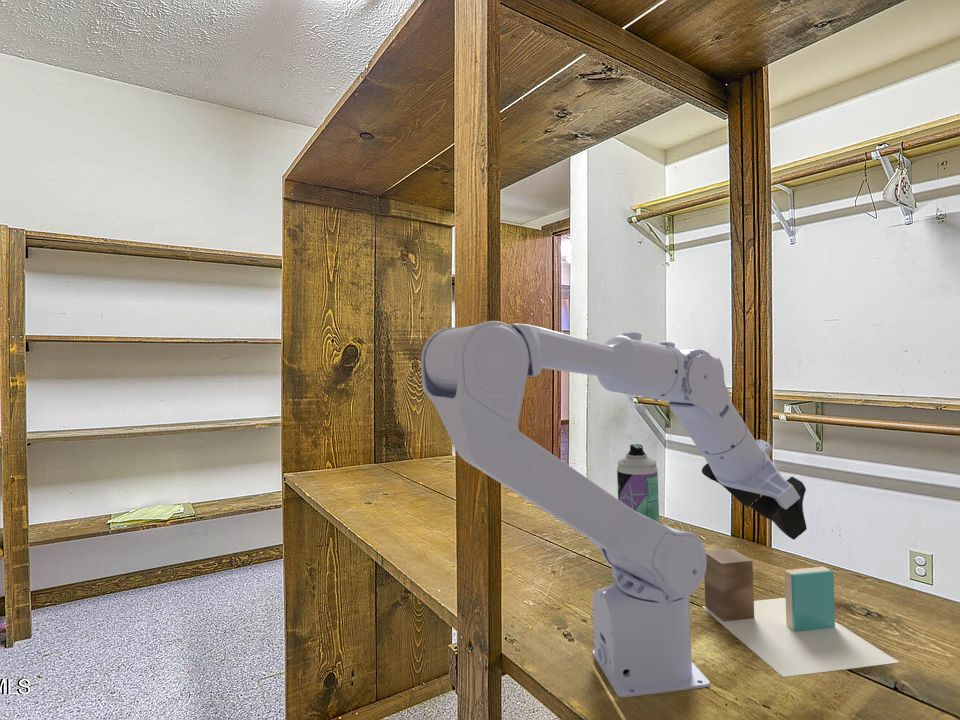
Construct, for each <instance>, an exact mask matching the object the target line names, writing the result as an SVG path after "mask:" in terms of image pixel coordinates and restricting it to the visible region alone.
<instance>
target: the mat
mask: <svg viewBox="0 0 960 720" xmlns="http://www.w3.org/2000/svg"><path fill="white" fill-rule="evenodd" d="M701 608H702V609H703V610H705V611H706V612H707V613H708V614H709V615H710V616H712V618H714V619H715V620H717V622H719V623H720V624H721V626H723V627H724V628H725V629H727V630H728V631H729V632H730V633H731V634H732V635H734V636H735V637H736V638H737V639H738V640H739V641H740V642H741V643H743V644H744V645H745V646H747V647H748V649H750V650H751V652H753V653H754V654H755V655H757V656H758V658H760V659H761V660H762V661H763V662H765V664H767V665H768V666H769V667H770V668H772V670H774V671H775V672H776V673H777V674H779V676H781V677H782V678H789V677H796V676H803V675H813V674H821V673H828V672H829V673H830V672H836V671H843V670H851V669H859V668H860V669H861V668H867V667H868V668H869V667H875V666H876V667H877V666H883V665H892V664H899V663H900V661H899V660H897V659H895V658H894V657H892V656H891V655H889V654H888V653H886V652H884V651H883V650H881V649H879V648H878V647H877V646H875V645H873V644H871V643H870V642H868V641H866V639H864V638H862V637H860V636H858V635H857V634H856V633H854V632H853V631H851V630H849V629H848V628H846V627H844V626H843V625H841V624H839V623H838V622H836V621H835V627H834V628H826V629H817V630H808V631H800V632H795V631H793V630H792V629H791V628H789V627H788V626H787V625H786V599H785V597H779V598H770V599H761V600H760V599H758V600H754V618H752V619H743V620H734V621H725V622H723V621H722V620H721V619H720V618H719V617H718V616H716V615H715V614H714V613H713V612H712V611H711V610H709V609H708V608H707V607H706V606H705V605H703V606H702V605H701Z"/></svg>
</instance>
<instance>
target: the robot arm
mask: <svg viewBox="0 0 960 720" xmlns="http://www.w3.org/2000/svg"><path fill="white" fill-rule="evenodd" d="M420 367H421V368H420V369H421V382H422V383H421V385H422V390H423V392H424V394H426V396H427V397H428V398H429V400H430V401H431V403H433V405H434V407H435V409H436V411H437V412H438V416H439V417H440V419H441V421H442V424H443V426H444V427H445V430H446V432H447V434H448V436H449V438H450V441H451V442H452V445H453V446H454V449H455V451H456V453H457V454H458V456H459V457H460V458H461V459H463V461H464V462H466V463H468V464H469V465H471V467H472V466H473V467H474V468H475V469H476V470H479V471H480V472H482V473H484V474H485V475H487V476H488V477H490V478H491V479H493V480H495V481H496V482H498V483H499V484H501V485H503V487H505V488H507V489H509V490H511V491H512V492H513V493H516V494H517V495H518V496H519V497H522V498H523V499H525V500H527V501H528V502H530V503H531V504H532V505H535V506H536V507H538V508H539V509H541V510H542V511H544V512H546V513H547V514H549V515H550V516H552V517H554V518H555V519H557V520H558V521H560V522H562V523H564V524H565V525H566V526H568V527H570V528H571V529H573V530H575V531H576V532H577V533H579V534H581V535H582V536H584V537H585V538H587V539H588V542H589V543H591V544H592V545H594V546H595V547H597V549H598V550H599V551H600V553H601V555H602V557H603V559H604V561H605V563H607V564H608V565H610V566H611V576H612V578H614V579H615V582H613V583H611V584H610V585H608V586H606V587H602V588H599V589H596V590H594V592H593V596H592V597H593V598H592V619H593V644H594V645H593V648H594V649H593V650H592V656H593V658H594V659H595V660H596V662H597V663H598V666H599V667H600V669H601V671H602V672H603V674H604V676H605V677H606V678H607V681H608V683H609V684H610V685H611V687H612V689H613V690H614V692H615V694H616V696H617V697H619V698H629V697H639V696H647V695H654V694H661V693H663V694H664V693H668V692H669V693H671V692H679V691H686V690H687V691H688V690H691V689H692V690H694V689H695V690H696V689H700V688H701V689H702V688H708V687H711V681H710V679H708V678H707V676H705V674H703V672H702V671H701V670H700V669H699V668H698V667H697V666H696V664H694V662H693V661H692V641H691V640H692V639H691V637H692V636H691V634H692V633H691V611H690V609H691V608H690V606H691V605H690V596H691V595H694V594H695V593H696V590H697V589H698V588H699V586H701V583H702V581H703V580H704V575H705V571H706V564H707V558H706V551H707V550H706V548H705V545H704V543H703V542H702V540H701V538H700V537H699V536H697V535H696V534H695V533H692V532H690V531H688V530H687V531H686V530H685V531H684V530H679V529H677V528H674V527H671V526H669V525H666V524H662V523H660V521H659V522H657V521H654V520H652V519H650V518H648V517H646V516H644V515H642V514H640V513H638V512H636V511H634V510H633V509H631V508H630V507H628V506H627V505H625V504H624V503H623V502H621V501H620V500H618V497H615V496H614V495H612V494H611V493H610V492H608V491H607V490H605V489H603V487H601V486H599V485H598V484H596V483H595V482H593V481H592V480H591V479H589V478H588V477H586V476H585V475H583V474H582V473H580V472H579V471H578V470H577V469H575V468H573V467H572V466H570V465H569V464H567V463H566V462H565V461H563V460H561V459H560V458H559V457H557V456H556V455H554V453H553V454H552V453H551V452H550V451H548V450H547V449H545V447H543V446H541V445H539V443H537V442H535V441H534V440H533V439H531V438H530V437H528V436H527V435H525V434H524V433H522V432H521V430H519V429H520V428H519V422H520V416H521V410H522V405H523V399H524V395H525V391H526V390H525V388H526V383H527V379H528V377H529V378H530V377H531V378H532V377H533V378H534V377H537V376H538V375H539V374H540V372H541V371H542V370H543V369H546V370H554V371H560V372H566V373H568V372H569V373H574V374H582V375H589V376H596V378H597V380H598V382H599V383H600V385H601V386H602V388H604V389H605V390H607V391H608V392H612V393H618V394H624V395H625V394H626V395H631V396H636V397H641V398H649V399H651V401H653V402H658V401H660V402H665V403H667V402H668V403H667V405H668V406H669V409H670V410H671V411H672V412H673V414H674V415H675V417H676V419H678V422H680V424H681V426H682V427H683V428H684V430H685V431H686V433H687V435H688V436H689V437H690V438H691V441H693V443H694V445H695V447H696V448H697V449H698V451H699V453H700V454H701V455H702V456H703V458H704V459H705V461H706V462H707V463H706V464H705V465H704V466H703V467H702V469H701V472H702V475H704V476H705V477H707V478H708V479H710V480H712V481H713V482H716V483H718V484H719V485H721V486H722V487H723V488H725V489H726V491H728V493H730V494H731V495H732V496H733V497H734V498H735V499H736V500H737V501H738V502H739V503H740V504H742V505H743V506H744V507H746V508H749V507H750V508H751V510H753V511H755V512H756V513H758V514H759V515H760V516H762V517H764V518H766V519H767V520H769V521H771V522H773V523H774V524H775V526H776V527H777V528H778V529H779V530H781V532H782V533H783V534H784V535H786V536H787V537H789V538H790V539H792V540H796V539H797V538H799V536H801V535H802V534H803V533H804V532H805V531H807V529H808V528H807V523H806V519H805V515H804V507H803V504H804V499H805V498H804V496H805V494H806V491H807V488H806V487H805V485H804V483H803V482H802V481H801V480H799V479H798V478H796V477H794V476H790V477H789V478H787V480H786V479H785V478H784V477H783V476H782V474H781V473H780V471H779V469H778V468H777V467H776V466H775V464H774V462H773V461H772V460H771V458H770V457H769V456H768V455H769V453H771V452H772V450H773V446H772V445H771V443H769V442H768V441H766V440H764V439H757V440H756V439H755V438H754V436H753V434H752V433H751V431H750V429H749V428H748V427H747V425H746V423H745V421H744V420H743V418H742V417H741V415H740V413H739V412H738V409H736V407H735V405H734V404H733V402H732V401H731V397H730V394H731V391H729V389H728V387H727V385H726V382H725V371H724V370H725V369H724V365H723V363H722V361H721V359H720V357H713V356H712V355H711V354H710V353H709V352H708V351H706V350H703V349H678V348H677V347H676V344H675V342H672V341H661V342H660V343H656V342H652V341H647V340H642V333H640V332H637V331H636V332H635V331H627V332H623V333H622V335H616V336H613V337H611V338H610V339H608V340H607V341H605V342H604V343H600V342H597V341H593V340H589V339H585V338H581V337H578V336H575V335H570V334H567V333H563V332H559V331H555V330H551V329H548V328H543V327H540V326H536V325H531V324H526V323H511V324H508V323H505V322H502V321H498V320H490V321H484V322H481V323H478V324H476V325H471V326H469V325H468V326H463V327H446V328H445V327H444V328H441V329H440V330H439V329H438V330H437V331H436V332H435V333H432V335H431V336H429V338H428V339H427V341H425V343H424V346H423V348H422V351H421V356H420ZM760 495H761V496H760Z"/></svg>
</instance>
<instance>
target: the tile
mask: <svg viewBox="0 0 960 720" xmlns="http://www.w3.org/2000/svg"><path fill="white" fill-rule="evenodd" d="M834 580H835V579H834V571H833V570H831V569H829V568H827V567H825V566H813V567H805V568H794V569H785V570H784V591H785V593H784V595H785V597H784V598H785V599H786V625H787V626H788V627H789V628H791V629H792V630H793V631H795V632H800V631H808V630H817V629H826V628H834V627H835V622H836V614H835V613H836V612H835V610H836V609H835V608H836V607H835V586H834V585H835V584H834V583H835V581H834Z"/></svg>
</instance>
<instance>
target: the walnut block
mask: <svg viewBox="0 0 960 720" xmlns="http://www.w3.org/2000/svg"><path fill="white" fill-rule="evenodd" d="M705 551H706V558H707V564H706V571H705V575H704V578H703V580H704V602H705V603H704V606H706V607H707V608H708V609H709V610H711V611H712V612H713V613H714V614H715V615H716V616H718V617H719V618H720V619H721V620H722V621H723V622H725V621H734V620H743V619H752V618H754V601H755V600H754V599H755V596H754V594H755V593H754V571H753V569H754V566H753V565H754V564H753V560H752V559H750V558H749V557H747V556H745V555H744V554H742V553H741V552H738V551H737V550H735V549H734V548H727V549H725V548H724V549H715V550H705Z"/></svg>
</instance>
